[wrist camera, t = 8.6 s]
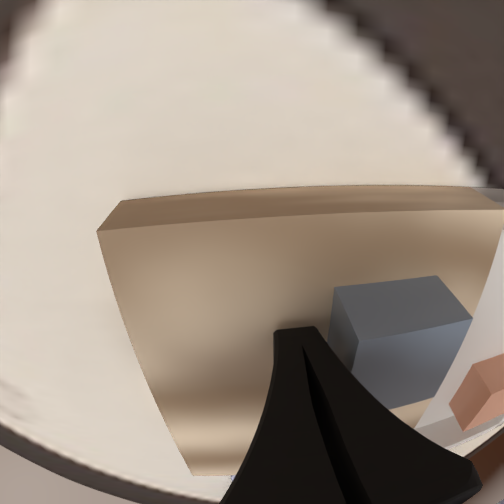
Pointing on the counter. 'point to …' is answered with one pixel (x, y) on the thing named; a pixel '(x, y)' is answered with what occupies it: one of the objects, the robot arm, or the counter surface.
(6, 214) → the counter surface
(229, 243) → the oak board
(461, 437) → the box
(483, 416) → the terracotta block
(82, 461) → the counter surface
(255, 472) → the robot arm
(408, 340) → the slate tile
